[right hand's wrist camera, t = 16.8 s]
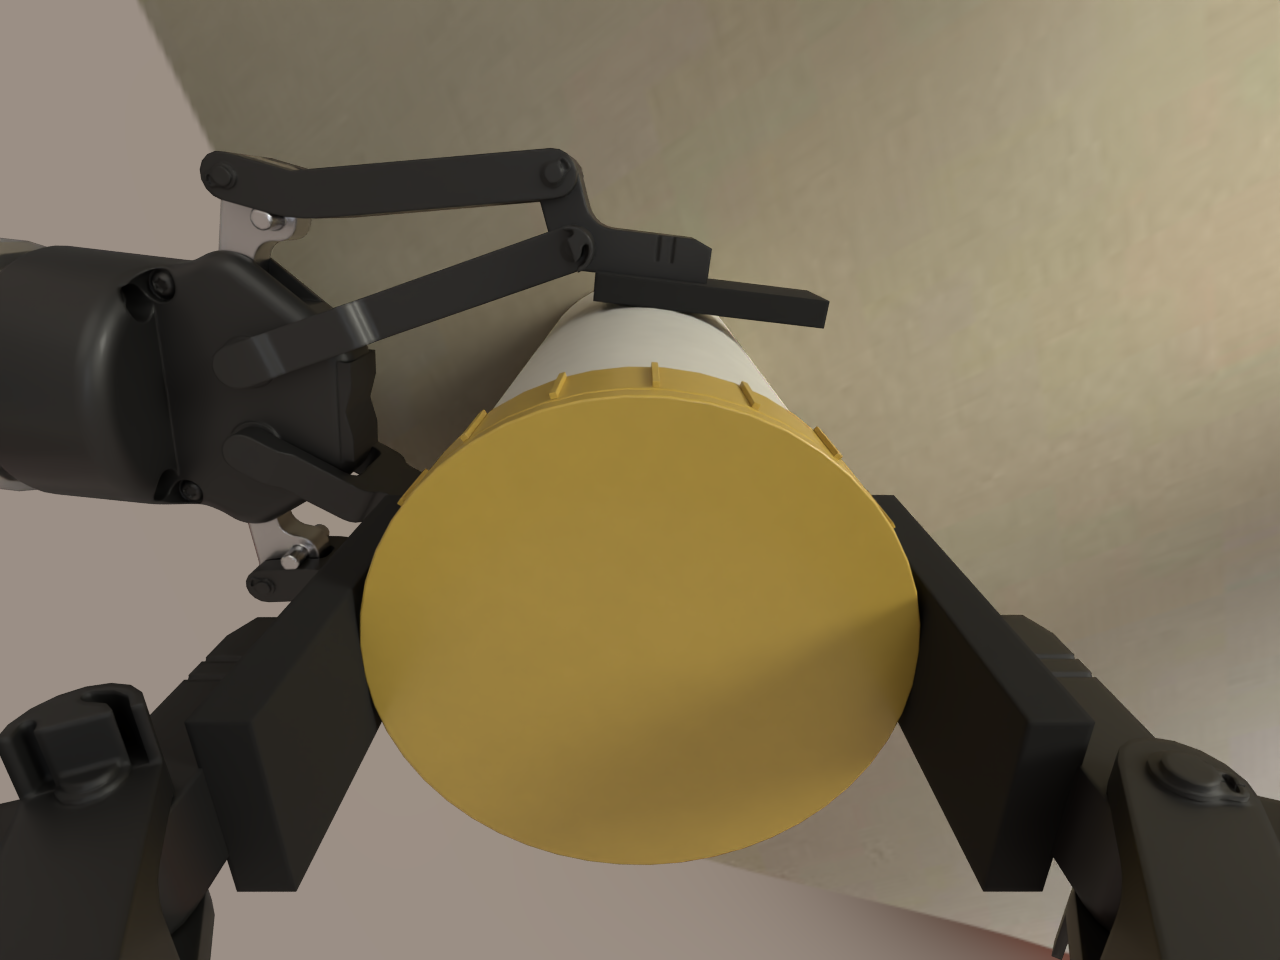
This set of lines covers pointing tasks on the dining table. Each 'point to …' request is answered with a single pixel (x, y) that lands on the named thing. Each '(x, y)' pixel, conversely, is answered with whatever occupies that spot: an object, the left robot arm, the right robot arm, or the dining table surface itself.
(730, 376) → the jar
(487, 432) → the lid
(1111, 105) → the dining table surface
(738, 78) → the dining table surface
